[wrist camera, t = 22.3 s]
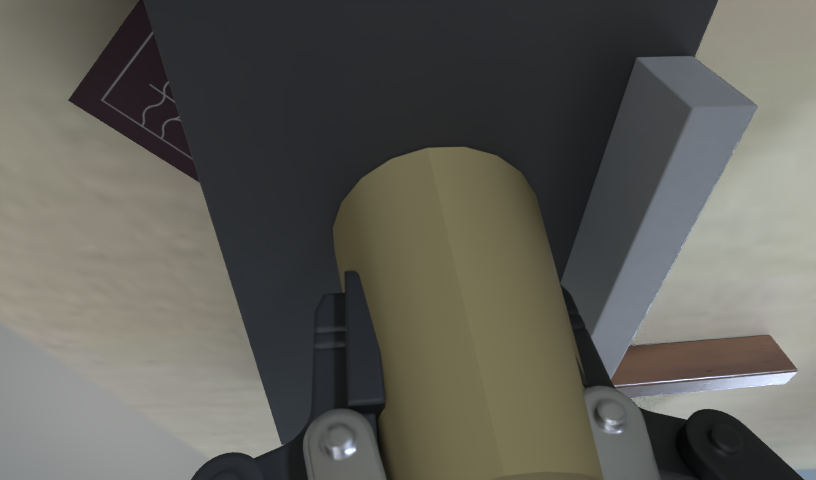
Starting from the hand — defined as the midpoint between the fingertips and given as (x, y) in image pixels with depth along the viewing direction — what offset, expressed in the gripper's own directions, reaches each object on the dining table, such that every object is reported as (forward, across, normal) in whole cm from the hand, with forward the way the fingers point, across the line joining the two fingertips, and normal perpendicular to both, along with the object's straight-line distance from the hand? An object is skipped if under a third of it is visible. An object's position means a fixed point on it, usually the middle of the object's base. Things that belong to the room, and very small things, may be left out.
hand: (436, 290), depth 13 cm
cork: (+3, 0, 0) cm, 3 cm away
